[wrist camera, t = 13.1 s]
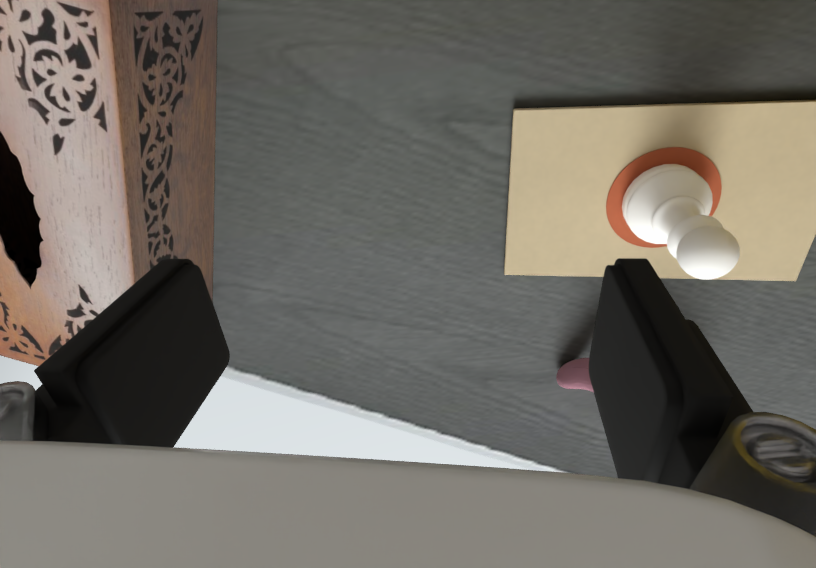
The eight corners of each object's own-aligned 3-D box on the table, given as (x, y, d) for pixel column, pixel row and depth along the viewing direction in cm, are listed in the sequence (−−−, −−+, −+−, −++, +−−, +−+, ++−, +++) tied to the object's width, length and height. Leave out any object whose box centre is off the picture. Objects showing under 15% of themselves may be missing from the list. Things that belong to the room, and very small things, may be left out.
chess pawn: (672, 244, 33) (729, 319, 25) (606, 219, 32) (643, 287, 25) (720, 179, 30) (800, 240, 22) (648, 151, 30) (704, 203, 22)
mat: (513, 108, 30) (513, 110, 30) (867, 97, 27) (874, 99, 27) (504, 271, 36) (504, 275, 36) (792, 277, 33) (796, 281, 33)
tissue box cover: (212, 317, 43) (144, 396, 34) (59, 274, 43) (-47, 342, 34) (217, -6, 29) (108, -7, 21) (-8, -70, 29) (-210, -98, 21)
